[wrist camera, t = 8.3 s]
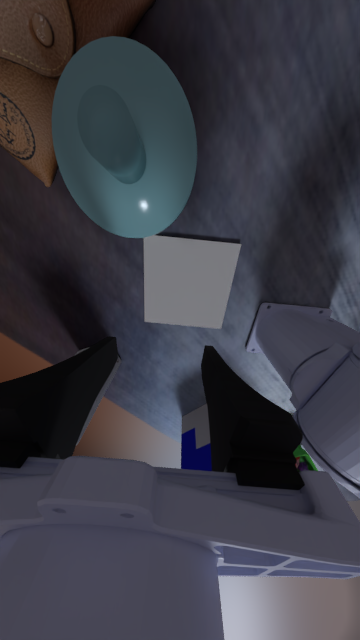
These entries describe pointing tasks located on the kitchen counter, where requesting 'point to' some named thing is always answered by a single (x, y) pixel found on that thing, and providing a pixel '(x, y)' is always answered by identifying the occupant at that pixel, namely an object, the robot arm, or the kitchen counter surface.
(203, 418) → the puzzle toy
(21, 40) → the sunglasses case
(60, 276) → the kitchen counter surface
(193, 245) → the plate
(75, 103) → the lid
